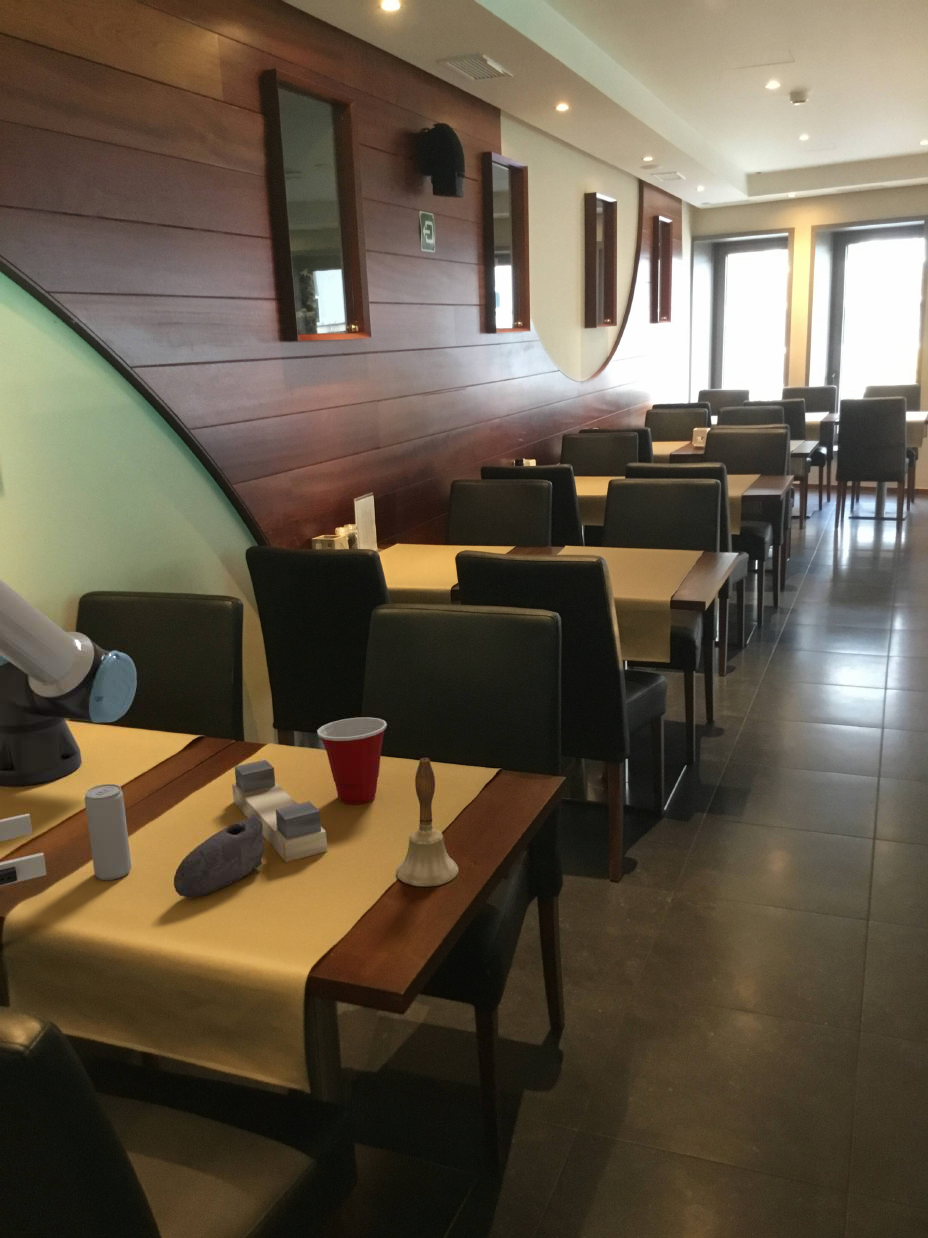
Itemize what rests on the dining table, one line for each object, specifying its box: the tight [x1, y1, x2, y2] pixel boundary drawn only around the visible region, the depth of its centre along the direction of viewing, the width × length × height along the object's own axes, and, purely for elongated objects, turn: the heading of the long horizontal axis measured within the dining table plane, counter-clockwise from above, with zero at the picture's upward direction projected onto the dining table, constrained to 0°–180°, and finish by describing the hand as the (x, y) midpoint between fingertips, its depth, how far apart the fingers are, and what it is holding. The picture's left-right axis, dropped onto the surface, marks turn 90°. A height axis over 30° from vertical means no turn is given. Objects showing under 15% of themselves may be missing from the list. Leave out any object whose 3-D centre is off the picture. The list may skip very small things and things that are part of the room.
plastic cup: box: [316, 716, 388, 805], centre depth 157 cm, size 11×11×12 cm
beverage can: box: [84, 783, 132, 881], centre depth 134 cm, size 5×5×12 cm
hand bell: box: [395, 757, 460, 887], centre depth 132 cm, size 8×8×16 cm
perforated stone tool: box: [173, 816, 266, 899], centre depth 132 cm, size 15×5×7 cm, turn 142°
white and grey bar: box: [231, 759, 328, 863], centre depth 148 cm, size 24×6×6 cm, turn 30°
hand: (38, 842), depth 130 cm, fingers open, 13 cm apart
